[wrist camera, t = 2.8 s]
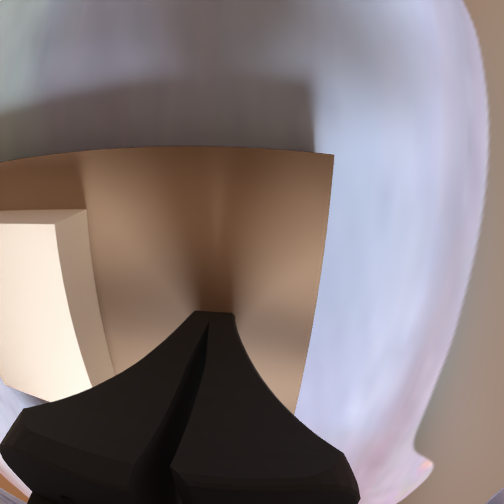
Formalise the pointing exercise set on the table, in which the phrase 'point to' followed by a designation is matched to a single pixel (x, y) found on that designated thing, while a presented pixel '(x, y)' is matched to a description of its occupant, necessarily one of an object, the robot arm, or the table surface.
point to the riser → (195, 242)
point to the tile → (49, 305)
